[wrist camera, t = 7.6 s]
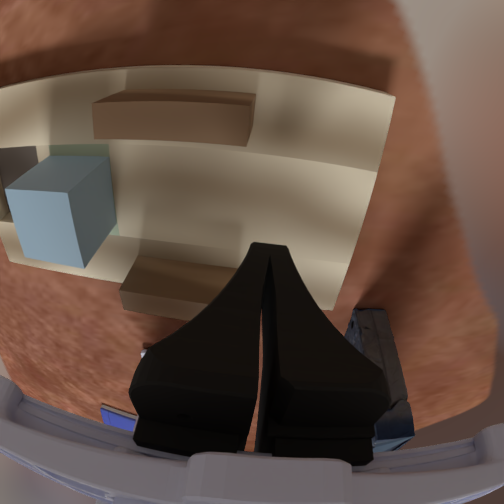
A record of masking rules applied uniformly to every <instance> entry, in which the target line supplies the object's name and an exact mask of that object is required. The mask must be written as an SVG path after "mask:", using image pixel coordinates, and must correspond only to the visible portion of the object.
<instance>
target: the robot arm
mask: <svg viewBox="0 0 504 504" xmlns="http://www.w3.org/2000/svg"><path fill="white" fill-rule="evenodd" d="M261 309H262V336H263V368H262V379H261V391H260V401H259V411H258V421H257V431H256V440H255V448H254V452H247V451H244V449H245V445H246V441H247V436H248V434H249V430H250V426H251V422H252V418H253V413H254V409H255V405H256V400H257V393H258V380H259V339H260V316H261ZM141 356H142V359H141V361H140V363H139V365H138V367H137V369H136V371H135V373H134V376H133V379H132V382H131V385H130V388H129V397H130V399H131V401H132V403H133V405H134V407H135V410H136V412H137V414H138V415H137V418H136V422H135V425H134V429H133V432H132V431H128V430H124V429H121V428H117V427H114V426H110V425H107V424H103V423H100V422H97V421H94V420H91V419H87V418H84V417H81V416H78V415H76V414H73V413H70V412H67V411H64V410H62V409H59V408H56V407H54V406H51V405H49V404H46V403H44V402H41V401H39V400H36V399H34V398H31V397H29V396H27V395H25V394H23V392H22V391H21V389H20V388H19V387H18V386H17V385H16V384H15V383H14V382H12V381H11V380H9V379H7V378H5V377H3V376H1V375H0V453H2V454H3V455H5V456H7V457H9V458H10V459H12V460H14V461H16V462H17V463H19V464H21V465H23V466H25V467H27V468H29V469H31V470H32V471H34V472H36V473H38V474H40V475H42V476H44V477H46V478H48V479H50V480H52V481H55V482H57V483H59V484H61V485H63V486H66V487H68V488H70V489H72V490H75V491H77V492H79V493H82V494H84V495H87V496H89V497H92V498H95V499H96V504H462V503H465V502H468V501H471V500H474V499H476V498H479V497H481V496H484V495H486V494H488V493H490V492H492V491H494V490H496V489H498V488H500V487H502V486H504V423H501V424H497V425H493V426H489V427H487V428H485V429H483V430H481V431H480V432H479V433H477V434H476V435H475V436H474V437H473V438H469V439H464V440H460V441H455V442H450V443H445V444H439V445H433V446H428V447H421V448H414V449H406V450H398V451H388V452H377V453H373V446H372V438H373V437H374V436H375V429H374V424H375V423H376V422H377V421H378V420H379V419H380V418H381V417H382V415H383V414H384V413H385V412H386V411H387V410H388V408H389V407H390V405H391V397H390V391H389V387H388V384H387V380H386V378H385V375H384V372H383V370H382V369H381V368H380V367H378V366H377V365H376V364H375V363H373V362H372V361H371V360H369V359H368V358H367V357H365V356H364V355H363V354H362V353H361V352H359V351H358V350H357V349H356V348H355V347H354V346H353V345H352V344H351V343H350V342H349V341H348V340H347V339H346V338H345V337H344V336H343V335H342V334H341V333H340V332H339V331H338V330H337V329H336V328H335V327H334V326H333V324H332V323H331V322H330V321H329V319H328V318H327V317H326V316H325V314H324V313H323V312H322V310H321V309H320V308H319V306H318V305H317V303H316V302H315V300H314V299H313V297H312V295H311V294H310V292H309V291H308V289H307V287H306V285H305V284H304V282H303V280H302V278H301V276H300V274H299V272H298V270H297V268H296V266H295V264H294V262H293V259H292V257H291V254H290V251H289V248H288V247H287V246H286V245H277V244H269V243H260V242H253V243H251V244H250V247H249V250H248V252H247V254H246V256H245V258H244V260H243V261H242V263H241V265H240V266H239V268H238V269H237V271H236V272H235V274H234V275H233V277H232V278H231V279H230V280H229V282H228V283H227V284H226V286H225V287H224V288H223V289H222V290H221V292H220V293H219V294H218V295H217V296H216V297H215V298H214V299H213V300H212V301H211V302H210V303H209V304H208V305H207V306H206V307H205V308H204V309H203V310H202V311H201V312H200V313H199V314H198V315H196V316H195V317H194V318H193V319H192V320H190V321H189V322H188V323H186V324H185V325H184V326H182V327H181V328H180V329H178V330H177V331H175V332H174V333H173V334H171V335H170V336H168V337H166V338H165V339H163V340H161V341H160V342H158V343H156V344H154V345H153V346H151V347H149V348H148V349H143V350H142V352H141Z"/></svg>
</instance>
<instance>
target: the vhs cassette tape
mask: <svg viewBox="0 0 504 504" xmlns="http://www.w3.org/2000/svg"><path fill="white" fill-rule="evenodd" d="M344 337H345V338H346V339H347V340H348V341H349V342H350V343H351V344H352V345H353V346H354V347H355V348H356V349H357V350H358V351H359V352H361V353H362V354H363V355H364V356H365V357H367V358H368V359H369V360H371V361H372V362H373V363H375V364H376V365H377V366H378V367H380V368H381V369H382V370H383V372H384V375H385V378H386V380H387V384H388V387H389V391H390V397H391V405H390V407H389V408H388V410H387V411H386V412H385V413H384V414H383V415H382V417H381V418H380V419H379V420H378V421H377V422H376V423H375V424H374V429H375V436H374V437H373V438H372V446H373V453H377V452H388V451H397V450H399V449H400V448H401V447H402V446H403V445H404V444H406V443H407V442H408V441H409V440H410V439H411V438H413V437H414V436H415V433H414V424H413V416H412V412H411V407H410V404H409V402H407V398H408V394H407V389H406V385H405V380H404V377H403V373H402V368H401V364H400V361H399V358H398V353H397V349H396V345H395V342H394V336H393V334H392V331H391V328H390V324H389V320H388V317H387V313H386V311H385V310H380V309H365V310H358V309H356V308H355V309H353V312H352V317H351V320H350V322H349V324H348V329H347V331H346V334H345V336H344Z"/></svg>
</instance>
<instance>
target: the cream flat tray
mask: <svg viewBox="0 0 504 504" xmlns="http://www.w3.org/2000/svg"><path fill="white" fill-rule="evenodd" d="M395 98H396V97H394V96H392V95H390V94H388V93H386V92H383V91H380V90H376V89H372V88H368V87H363V86H359V85H355V84H350V83H345V82H341V81H336V80H330V79H325V78H320V77H314V76H308V75H301V74H295V73H288V72H280V71H272V70H263V69H252V68H241V67H226V66H204V65H154V66H132V67H118V68H106V69H97V70H88V71H80V72H73V73H66V74H60V75H54V76H48V77H43V78H38V79H33V80H28V81H23V82H19V83H15V84H10V85H6V86H2V87H0V236H1V239H2V242H3V245H4V248H5V250H6V253H7V255H8V258H9V261H10V262H15V263H19V264H24V265H29V266H34V267H38V268H43V269H48V270H53V271H58V272H64V273H69V274H74V275H79V276H85V277H90V278H96V279H101V280H107V281H113V282H119V283H122V285H121V287H120V289H119V292H120V296H121V300H122V304H123V308H124V310H128V311H134V312H139V313H145V314H150V315H156V316H162V317H168V318H174V319H180V320H187V321H190V320H192V319H193V318H194V317H195V316H196V315H198V314H199V313H200V312H201V311H202V310H203V309H204V308H205V307H206V306H207V305H208V304H209V303H210V302H211V301H212V300H213V299H214V298H215V297H216V296H217V295H218V294H219V293H220V292H221V290H222V289H223V288H224V287H225V286H226V284H227V283H228V282H229V280H230V279H231V278H232V277H233V275H234V274H235V272H236V271H237V269H238V268H239V266H240V265H241V263H242V261H243V260H244V258H245V256H246V254H247V252H248V250H249V247H250V244H251V243H253V242H260V243H269V244H277V245H286V246H287V247H288V248H289V251H290V254H291V257H292V259H293V262H294V264H295V266H296V268H297V270H298V272H299V274H300V276H301V278H302V280H303V282H304V284H305V285H306V287H307V289H308V291H309V292H310V294H311V295H312V297H313V299H314V300H315V302H316V303H317V305H318V306H319V308H320V309H323V310H333V308H334V305H335V302H336V300H337V297H338V294H339V291H340V289H341V286H342V283H343V280H344V278H345V275H346V272H347V269H348V266H349V263H350V260H351V257H352V254H353V251H354V248H355V245H356V242H357V239H358V236H359V233H360V230H361V227H362V224H363V220H364V217H365V214H366V211H367V207H368V204H369V201H370V197H371V194H372V190H373V187H374V183H375V180H376V176H377V172H378V169H379V165H380V161H381V157H382V154H383V150H384V146H385V142H386V138H387V133H388V129H389V125H390V121H391V116H392V112H393V107H394V103H395ZM48 156H104V157H109V159H110V171H111V181H112V191H113V199H114V207H115V215H116V222H117V224H116V225H115V227H114V228H113V229H112V231H111V232H110V233H109V235H108V236H107V237H106V239H105V240H104V242H103V243H102V244H101V246H100V247H99V249H98V250H97V252H96V253H95V254H94V256H93V257H92V259H91V260H90V262H89V263H88V265H87V266H86V268H85V269H82V268H77V267H72V266H66V265H61V264H56V263H51V262H46V261H41V260H36V259H31V258H26V257H25V256H24V253H23V250H22V247H21V244H20V241H19V238H18V235H17V232H16V228H15V225H14V222H13V218H12V215H11V211H10V208H9V204H8V200H7V196H6V192H5V188H6V187H8V186H9V185H10V184H12V183H13V182H14V181H15V180H17V179H18V178H19V177H21V176H22V175H23V174H25V173H26V172H27V171H29V170H30V169H31V168H33V167H34V166H36V165H37V164H38V163H40V162H41V161H43V160H44V159H45V158H47V157H48Z"/></svg>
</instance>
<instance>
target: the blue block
mask: <svg viewBox="0 0 504 504" xmlns="http://www.w3.org/2000/svg"><path fill="white" fill-rule="evenodd" d="M5 192H6V196H7V200H8V204H9V208H10V211H11V215H12V218H13V222H14V225H15V228H16V232H17V235H18V238H19V241H20V244H21V247H22V250H23V253H24V256H25V257H26V258H31V259H36V260H41V261H46V262H51V263H56V264H61V265H66V266H72V267H77V268H82V269H85V268H86V266H87V265H88V263H89V262H90V260H91V259H92V257H93V256H94V254H95V253H96V252H97V250H98V249H99V247H100V246H101V244H102V243H103V242H104V240H105V239H106V237H107V236H108V235H109V233H110V232H111V231H112V229H113V228H114V227H115V225H116V224H117V222H116V215H115V207H114V199H113V191H112V181H111V171H110V159H109V157H104V156H48V157H47V158H45V159H44V160H43V161H41V162H40V163H38V164H37V165H36V166H34V167H33V168H31V169H30V170H29V171H27V172H26V173H25V174H23V175H22V176H21V177H19V178H18V179H17V180H15V181H14V182H13V183H12V184H10V185H9V186H8V187H6V188H5Z"/></svg>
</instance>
